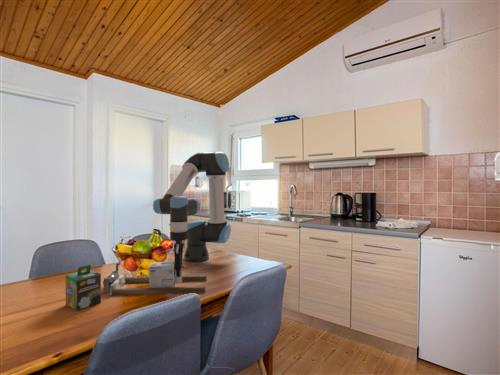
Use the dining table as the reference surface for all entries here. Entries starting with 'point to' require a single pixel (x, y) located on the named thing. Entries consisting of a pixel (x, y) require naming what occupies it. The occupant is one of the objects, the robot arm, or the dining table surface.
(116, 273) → the winch
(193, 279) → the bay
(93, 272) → the chalk box
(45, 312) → the dining table surface
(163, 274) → the light bulb box
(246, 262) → the dining table surface
